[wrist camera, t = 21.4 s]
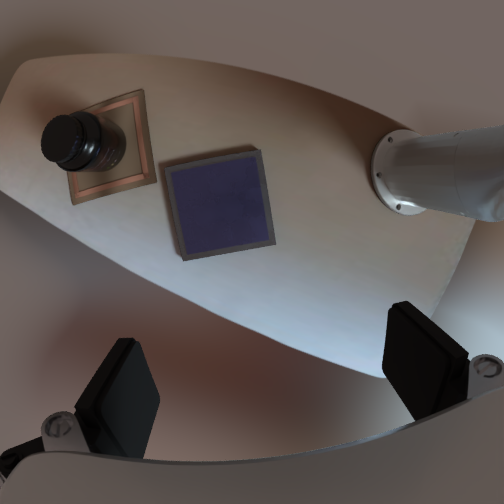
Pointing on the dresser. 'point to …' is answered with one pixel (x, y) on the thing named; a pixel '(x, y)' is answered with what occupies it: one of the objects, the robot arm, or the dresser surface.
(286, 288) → the dresser surface
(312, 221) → the dresser surface
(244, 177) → the ink pad
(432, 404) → the robot arm
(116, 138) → the supplement bottle
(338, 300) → the dresser surface
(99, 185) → the marked board
